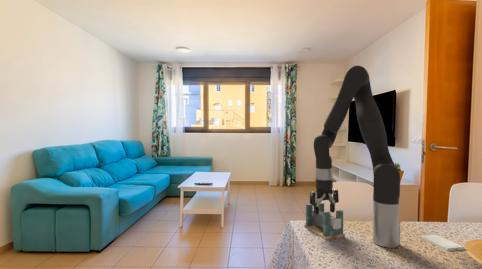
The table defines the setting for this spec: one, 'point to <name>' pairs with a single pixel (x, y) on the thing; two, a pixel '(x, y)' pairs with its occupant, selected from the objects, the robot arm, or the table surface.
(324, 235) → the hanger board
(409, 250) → the table surface
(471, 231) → the table surface
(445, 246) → the hard drive
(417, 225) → the table surface
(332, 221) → the power strip
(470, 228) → the table surface
